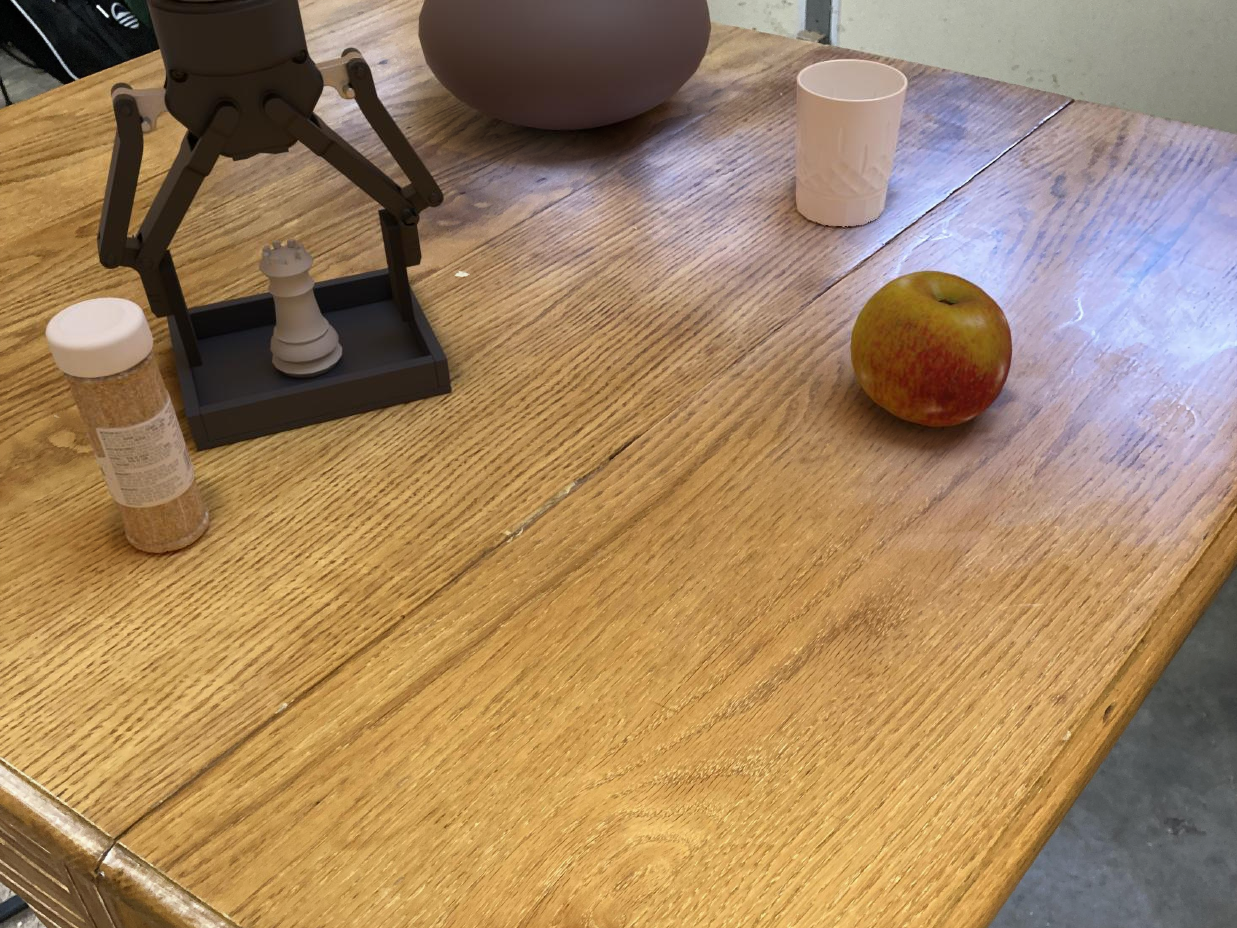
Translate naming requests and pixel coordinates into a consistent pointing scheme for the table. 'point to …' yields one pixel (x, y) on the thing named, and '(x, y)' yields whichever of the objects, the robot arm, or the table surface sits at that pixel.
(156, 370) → the sprinkles bottle
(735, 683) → the table surface
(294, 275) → the rook chess piece
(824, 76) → the pale pink cup
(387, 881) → the table surface
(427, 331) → the tray
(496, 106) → the flattened ellipsoid
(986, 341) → the fruit
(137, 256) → the robot arm
